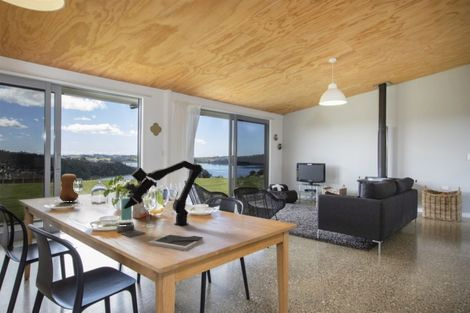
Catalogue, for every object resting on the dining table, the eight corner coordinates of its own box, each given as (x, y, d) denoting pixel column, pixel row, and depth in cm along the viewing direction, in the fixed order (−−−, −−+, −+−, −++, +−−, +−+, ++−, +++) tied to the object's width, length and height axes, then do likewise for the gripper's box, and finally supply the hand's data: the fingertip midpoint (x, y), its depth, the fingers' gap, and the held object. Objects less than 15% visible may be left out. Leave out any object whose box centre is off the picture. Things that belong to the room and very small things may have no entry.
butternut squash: (73, 200, 254) (73, 173, 254) (80, 202, 247) (81, 173, 246) (56, 202, 243) (57, 173, 243) (63, 204, 235) (64, 174, 235)
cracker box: (140, 218, 188) (140, 187, 188) (132, 218, 189) (132, 187, 189) (150, 214, 202) (151, 185, 201) (143, 214, 203) (143, 185, 203)
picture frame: (202, 242, 142) (168, 237, 150) (203, 237, 142) (169, 232, 150) (185, 252, 127) (149, 245, 135) (185, 246, 127) (149, 240, 135)
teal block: (130, 217, 163) (130, 197, 163) (131, 219, 158) (131, 198, 158) (121, 218, 160) (121, 197, 160) (121, 220, 156) (122, 198, 156)
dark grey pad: (145, 233, 153) (145, 232, 153) (130, 237, 146) (130, 236, 146) (135, 230, 158) (135, 229, 158) (120, 234, 151) (120, 233, 151)
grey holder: (132, 226, 167) (132, 221, 167) (134, 230, 159) (134, 225, 159) (116, 228, 163) (116, 223, 163) (117, 232, 155) (117, 226, 155)
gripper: (131, 176, 169) (111, 195, 164) (136, 179, 153) (114, 200, 148) (145, 189, 173) (125, 208, 168) (151, 192, 157) (129, 214, 151)
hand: (123, 207), depth 159 cm, fingers closed on teal block, 5 cm apart
